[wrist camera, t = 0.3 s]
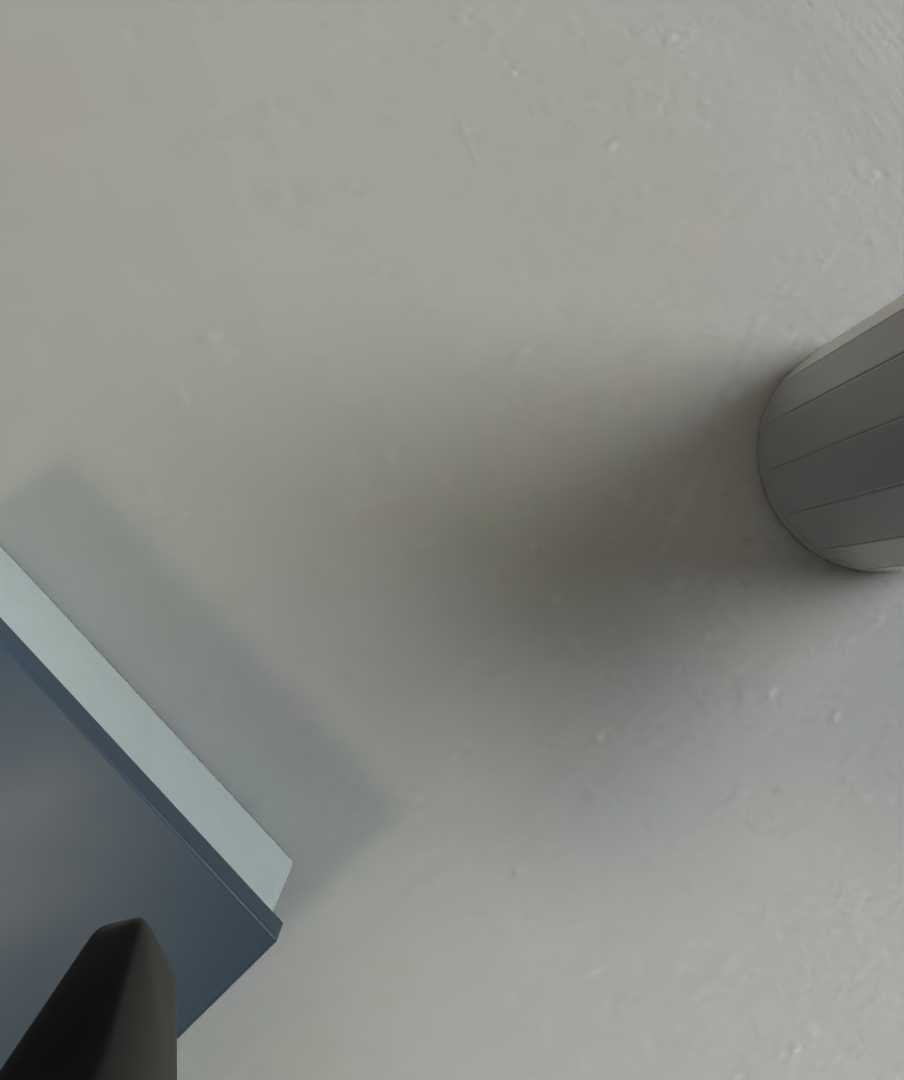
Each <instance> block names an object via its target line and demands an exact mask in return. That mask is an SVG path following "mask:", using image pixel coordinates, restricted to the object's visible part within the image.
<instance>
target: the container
mask: <svg viewBox="0 0 904 1080" xmlns="http://www.w3.org/2000/svg"><path fill="white" fill-rule="evenodd" d="M292 865H293V862H292V860H291V859H290V858H289V857H288V856H287V855H286V854H285V853H284V852H283V851H282V849H281V848H280V847H279V846H278V845H277V844H276V843H275V842H274V841H273V840H272V839H271V838H270V836H269V835H268V834H267V833H266V832H265V831H264V830H263V829H262V828H261V827H260V826H259V825H258V824H257V822H256V821H255V820H254V819H253V818H252V817H251V816H250V815H249V814H248V813H247V812H246V811H245V810H244V808H243V807H242V806H241V805H240V804H239V803H238V802H237V801H236V800H235V799H234V798H233V797H232V795H231V794H230V793H229V792H228V791H227V790H226V789H225V788H224V787H223V786H222V785H221V784H220V783H219V781H218V780H217V779H216V778H215V777H214V776H213V775H212V774H211V773H210V772H209V771H208V770H207V769H206V767H205V766H204V765H203V764H202V763H201V762H200V761H199V760H198V759H197V758H196V757H195V756H194V754H193V753H192V752H191V751H190V750H189V749H188V748H187V747H186V746H185V745H184V744H183V743H182V742H181V740H180V739H179V738H178V737H177V736H176V735H175V734H174V733H173V732H172V731H171V730H170V729H169V728H168V726H167V725H166V724H165V723H164V722H163V721H162V720H161V719H160V718H159V717H158V716H157V715H156V714H155V712H154V711H153V710H152V709H151V708H150V707H149V706H148V705H147V704H146V703H145V702H144V701H143V699H142V698H141V697H140V696H139V695H138V694H137V693H136V692H135V691H134V690H133V689H132V688H131V687H130V685H129V684H128V683H127V682H126V681H125V680H124V679H123V678H122V677H121V676H120V675H119V674H118V673H117V671H116V670H115V669H114V668H113V667H112V666H111V665H110V664H109V663H108V662H107V661H106V660H105V658H104V657H103V656H102V655H101V654H100V653H99V652H98V651H97V650H96V649H95V648H94V647H93V646H92V644H91V643H90V642H89V641H88V640H87V639H86V638H85V637H84V636H83V635H82V634H81V633H80V632H79V630H78V629H77V628H76V627H75V626H74V625H73V624H72V623H71V622H70V621H69V620H68V619H67V617H66V616H65V615H64V614H63V613H62V612H61V611H60V610H59V609H58V608H57V607H56V606H55V605H54V603H53V602H52V601H51V600H50V599H49V598H48V597H47V596H46V595H45V594H44V593H43V592H42V591H41V589H40V588H39V587H38V586H37V585H36V584H35V583H34V582H33V581H32V580H31V579H30V578H29V576H28V575H27V574H26V573H25V572H24V571H23V570H22V569H21V568H20V567H19V566H18V565H17V564H16V562H15V561H14V560H13V559H12V558H11V557H10V556H9V555H8V554H7V553H6V552H5V551H4V550H3V548H2V547H1V546H0V1070H1V1068H2V1067H3V1065H4V1064H5V1062H6V1061H7V1059H8V1058H9V1056H10V1055H11V1053H12V1052H13V1050H14V1049H15V1048H16V1046H17V1045H18V1043H19V1042H20V1040H21V1039H22V1037H23V1036H24V1034H25V1033H26V1031H27V1030H28V1028H29V1027H30V1025H31V1024H32V1022H33V1021H34V1019H35V1018H36V1016H37V1015H38V1014H39V1012H40V1011H41V1009H42V1008H43V1006H44V1005H45V1003H46V1002H47V1000H48V999H49V997H50V996H51V994H52V993H53V991H54V990H55V988H56V987H57V985H58V984H59V982H60V981H61V980H62V978H63V977H64V975H65V974H66V972H67V971H68V969H69V968H70V966H71V965H72V963H73V962H74V960H75V959H76V957H77V956H78V954H79V953H80V951H81V950H82V948H83V947H84V946H85V944H86V943H87V941H88V940H89V938H90V937H91V936H92V934H93V933H94V932H95V931H96V930H97V929H99V928H100V927H102V926H105V925H108V924H112V923H115V922H119V921H123V920H127V919H131V918H135V917H141V918H143V919H144V920H146V921H147V922H148V924H149V925H150V927H151V929H152V931H153V933H154V935H155V937H156V938H157V940H158V942H159V944H160V946H161V948H162V950H163V952H164V954H165V956H166V958H167V960H168V962H169V963H170V965H171V968H172V970H173V974H174V977H175V983H176V995H177V1039H178V1038H179V1037H180V1036H181V1035H182V1034H183V1033H184V1032H185V1031H186V1030H187V1029H188V1028H189V1027H190V1026H191V1025H192V1024H193V1023H194V1022H195V1021H196V1020H197V1019H198V1018H199V1017H200V1016H201V1015H202V1014H203V1013H204V1012H205V1011H206V1010H207V1009H208V1008H209V1007H210V1006H211V1005H212V1004H213V1003H214V1002H215V1001H216V1000H217V999H218V998H219V997H220V996H221V995H222V994H223V993H224V992H225V991H226V990H227V989H228V988H229V987H230V986H231V985H232V984H233V983H234V982H235V981H237V980H238V979H239V978H240V977H241V976H242V975H243V974H244V973H245V972H246V971H247V970H248V969H249V968H250V967H251V966H252V965H253V964H254V963H255V962H256V961H257V960H258V959H259V958H260V957H261V956H262V955H263V954H264V953H265V952H266V951H267V950H268V949H269V948H270V947H271V946H272V945H273V944H274V943H275V942H276V941H277V938H278V936H279V933H280V930H281V928H282V925H283V924H282V921H281V920H280V919H279V918H278V917H277V916H276V915H275V914H274V913H273V911H274V908H275V906H276V904H277V901H278V899H279V896H280V894H281V892H282V889H283V887H284V885H285V882H286V880H287V877H288V875H289V873H290V870H291V868H292Z"/></svg>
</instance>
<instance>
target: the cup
mask: <svg viewBox="0 0 904 1080" xmlns="http://www.w3.org/2000/svg"><path fill="white" fill-rule="evenodd" d="M758 460H759V469H760V474H761V479H762V483H763V486H764V489H765V492H766V495H767V497H768V499H769V501H770V503H771V505H772V507H773V509H774V511H775V513H776V514H777V516H778V517H779V519H780V520H781V522H782V523H783V524H784V526H785V527H786V528H787V529H788V530H789V532H790V533H791V534H792V535H793V536H794V537H795V538H796V539H797V540H799V541H800V542H801V543H802V544H803V545H804V546H805V547H807V548H808V549H810V550H811V551H812V552H814V553H815V554H817V555H818V556H820V557H822V558H824V559H826V560H828V561H830V562H832V563H835V564H837V565H840V566H843V567H846V568H850V569H854V570H859V571H868V572H889V571H904V295H903V296H901V297H899V298H898V299H896V300H895V301H893V302H892V303H890V304H888V305H887V306H885V307H884V308H882V309H881V310H879V311H877V312H876V313H874V314H873V315H871V316H870V317H868V318H866V319H865V320H863V321H862V322H860V323H859V324H857V325H855V326H854V327H852V328H851V329H849V330H848V331H846V332H844V333H843V334H841V335H840V336H838V337H837V338H835V339H833V340H832V341H830V342H829V343H827V344H826V345H824V346H823V347H821V348H819V349H818V350H816V351H815V352H814V353H813V354H812V355H811V356H810V357H809V358H808V359H806V360H804V361H803V362H801V363H800V364H799V365H798V366H797V367H795V368H794V369H793V370H792V371H791V372H790V373H789V374H788V375H787V376H786V377H785V378H784V379H783V380H782V382H781V383H780V384H779V386H778V387H777V389H776V390H775V392H774V393H773V395H772V397H771V399H770V401H769V403H768V405H767V407H766V410H765V413H764V416H763V419H762V422H761V427H760V432H759V441H758Z"/></svg>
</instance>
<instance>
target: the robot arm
mask: <svg viewBox="0 0 904 1080" xmlns="http://www.w3.org/2000/svg"><path fill="white" fill-rule="evenodd" d="M0 1080H177V995H176V983H175V977H174V974H173V970H172V968H171V965H170V963H169V962H168V960H167V958H166V956H165V954H164V952H163V950H162V948H161V946H160V944H159V942H158V940H157V938H156V937H155V935H154V933H153V931H152V929H151V927H150V925H149V924H148V922H147V921H146V920H144V919H143V918H141V917H135V918H131V919H127V920H123V921H119V922H115V923H112V924H108V925H105V926H102V927H100V928H99V929H97V930H96V931H95V932H94V933H93V934H92V936H91V937H90V938H89V940H88V941H87V943H86V944H85V946H84V947H83V948H82V950H81V951H80V953H79V954H78V956H77V957H76V959H75V960H74V962H73V963H72V965H71V966H70V968H69V969H68V971H67V972H66V974H65V975H64V977H63V978H62V980H61V981H60V982H59V984H58V985H57V987H56V988H55V990H54V991H53V993H52V994H51V996H50V997H49V999H48V1000H47V1002H46V1003H45V1005H44V1006H43V1008H42V1009H41V1011H40V1012H39V1014H38V1015H37V1016H36V1018H35V1019H34V1021H33V1022H32V1024H31V1025H30V1027H29V1028H28V1030H27V1031H26V1033H25V1034H24V1036H23V1037H22V1039H21V1040H20V1042H19V1043H18V1045H17V1046H16V1048H15V1049H14V1050H13V1052H12V1053H11V1055H10V1056H9V1058H8V1059H7V1061H6V1062H5V1064H4V1065H3V1067H2V1068H1V1070H0Z"/></svg>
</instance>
